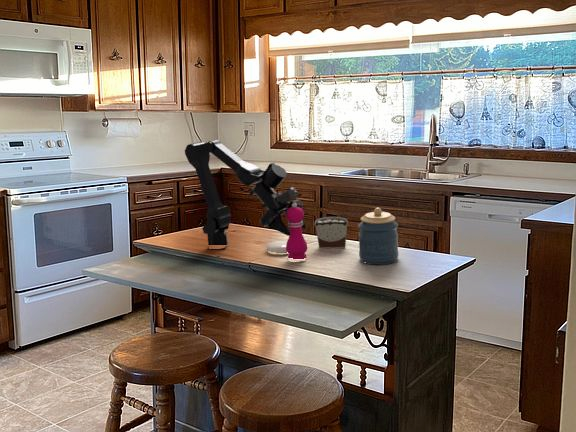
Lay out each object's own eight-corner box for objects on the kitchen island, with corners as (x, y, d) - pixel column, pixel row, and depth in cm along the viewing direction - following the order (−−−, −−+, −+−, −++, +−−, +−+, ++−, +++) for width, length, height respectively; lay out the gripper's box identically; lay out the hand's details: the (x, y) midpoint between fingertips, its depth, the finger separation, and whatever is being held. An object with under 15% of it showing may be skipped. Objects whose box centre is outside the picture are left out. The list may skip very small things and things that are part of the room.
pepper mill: (285, 257, 221) (282, 200, 216) (306, 256, 221) (303, 199, 217) (287, 264, 214) (284, 205, 209) (309, 262, 214) (306, 204, 210)
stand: (266, 255, 224) (266, 250, 224) (267, 246, 235) (267, 241, 234) (298, 254, 224) (298, 248, 224) (297, 245, 235) (297, 239, 234)
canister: (375, 251, 223) (374, 201, 218) (406, 258, 214) (405, 206, 209) (351, 260, 214) (349, 209, 210) (382, 268, 205) (381, 214, 201)
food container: (349, 242, 235) (348, 215, 232) (349, 247, 229) (348, 220, 226) (315, 243, 236) (314, 216, 233) (314, 248, 230) (313, 221, 227)
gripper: (264, 186, 206) (295, 223, 203) (297, 176, 221) (325, 210, 218) (247, 208, 213) (276, 244, 209) (279, 197, 228) (307, 230, 224)
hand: (297, 231), depth 215 cm, fingers open, 9 cm apart
